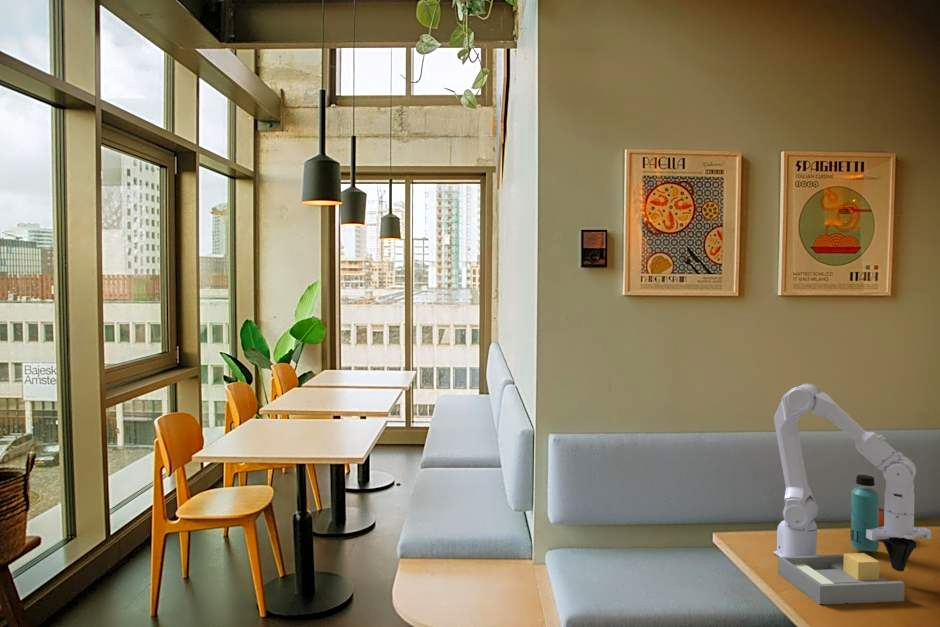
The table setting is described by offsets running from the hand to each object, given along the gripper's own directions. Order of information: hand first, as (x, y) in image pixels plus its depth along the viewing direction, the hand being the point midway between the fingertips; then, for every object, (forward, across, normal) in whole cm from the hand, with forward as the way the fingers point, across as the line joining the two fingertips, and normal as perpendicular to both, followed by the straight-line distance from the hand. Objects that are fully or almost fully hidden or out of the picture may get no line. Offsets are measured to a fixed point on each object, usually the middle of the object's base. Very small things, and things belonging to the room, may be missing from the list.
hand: (897, 569), depth 150 cm
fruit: (+4, +18, +28) cm, 34 cm away
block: (+1, -9, 0) cm, 9 cm away
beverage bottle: (+4, +6, +18) cm, 20 cm away
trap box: (+3, -15, 0) cm, 15 cm away
